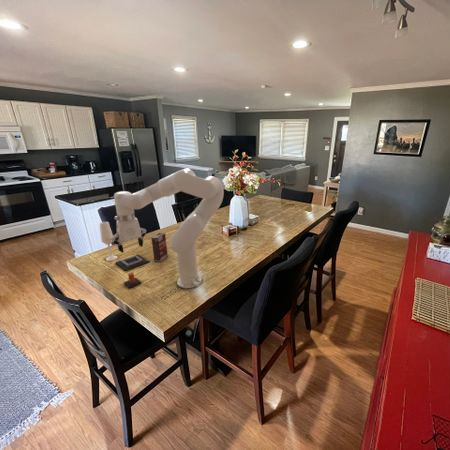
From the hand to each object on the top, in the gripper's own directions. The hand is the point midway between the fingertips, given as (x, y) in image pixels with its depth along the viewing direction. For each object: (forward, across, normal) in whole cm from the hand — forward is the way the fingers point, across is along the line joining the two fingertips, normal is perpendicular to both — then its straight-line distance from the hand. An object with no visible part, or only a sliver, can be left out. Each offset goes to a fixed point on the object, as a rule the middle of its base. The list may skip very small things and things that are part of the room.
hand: (131, 248), depth 122 cm
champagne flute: (+20, +1, +38) cm, 43 cm away
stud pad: (+19, -3, -1) cm, 20 cm away
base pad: (+20, +7, +22) cm, 30 cm away
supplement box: (+20, +22, +14) cm, 33 cm away
